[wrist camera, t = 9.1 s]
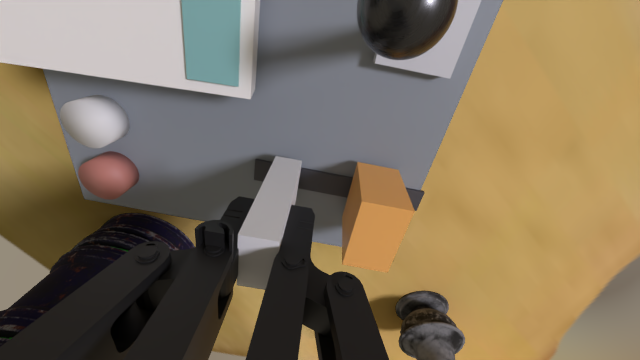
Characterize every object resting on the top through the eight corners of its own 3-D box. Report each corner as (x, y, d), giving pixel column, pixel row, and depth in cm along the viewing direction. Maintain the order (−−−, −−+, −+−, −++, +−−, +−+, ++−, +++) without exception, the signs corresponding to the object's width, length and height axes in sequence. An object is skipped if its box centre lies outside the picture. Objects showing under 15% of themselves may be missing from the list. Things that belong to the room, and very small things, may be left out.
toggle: (392, 49, 12) (334, 49, 6) (409, -9, 11) (358, -79, 5) (442, 60, 12) (432, 72, 6) (465, -1, 10) (483, -68, 4)
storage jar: (221, 263, 27) (108, 483, 14) (162, 296, 30) (27, 498, 17) (137, 193, 23) (-118, 402, 10) (81, 240, 27) (-165, 441, 14)
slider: (342, 216, 17) (342, 264, 14) (357, 161, 15) (362, 201, 12) (378, 223, 17) (387, 272, 14) (398, 169, 15) (414, 211, 12)
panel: (124, 172, 22) (65, 211, 18) (56, -143, 13) (-104, -238, 9) (386, 221, 23) (398, 273, 18) (491, -49, 14) (569, -88, 9)
